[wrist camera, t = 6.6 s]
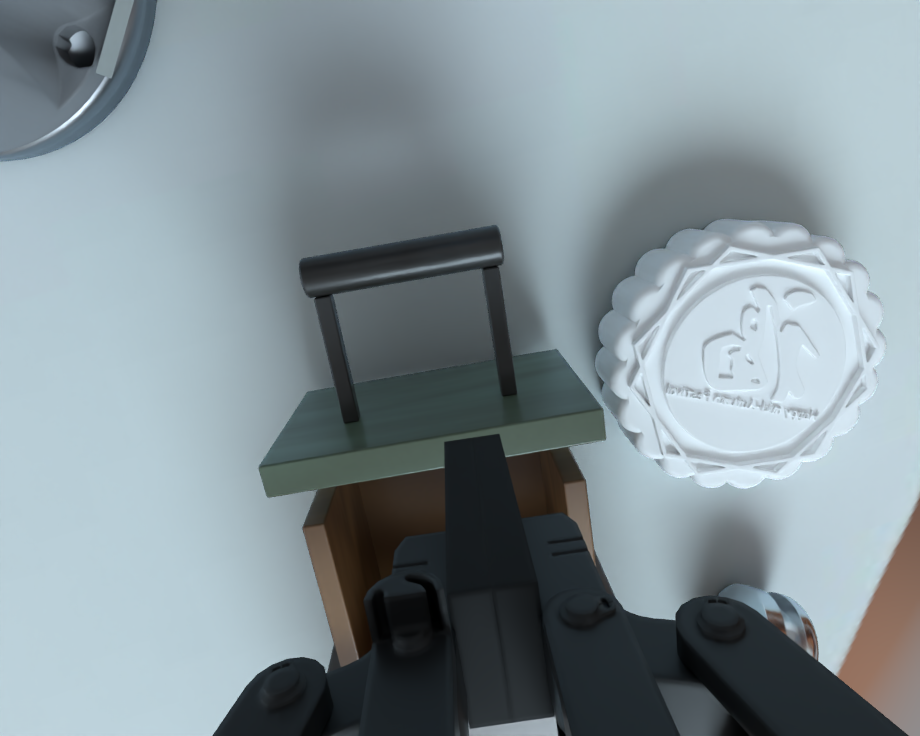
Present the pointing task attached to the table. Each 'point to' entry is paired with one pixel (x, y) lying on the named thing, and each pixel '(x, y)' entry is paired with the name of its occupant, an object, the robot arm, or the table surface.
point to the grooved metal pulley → (778, 613)
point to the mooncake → (740, 351)
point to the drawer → (419, 429)
